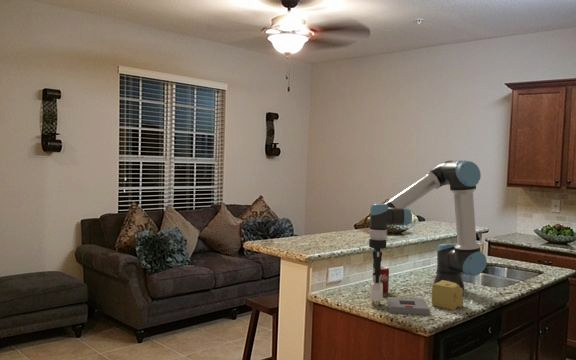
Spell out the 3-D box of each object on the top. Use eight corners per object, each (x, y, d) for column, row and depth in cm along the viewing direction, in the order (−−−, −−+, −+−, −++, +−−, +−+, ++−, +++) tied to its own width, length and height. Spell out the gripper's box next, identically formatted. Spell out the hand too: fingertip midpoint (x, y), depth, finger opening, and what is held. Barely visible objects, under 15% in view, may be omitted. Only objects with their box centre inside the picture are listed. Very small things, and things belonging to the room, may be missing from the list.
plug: (381, 303, 229) (382, 278, 228) (382, 306, 224) (382, 280, 223) (370, 302, 229) (371, 277, 229) (370, 305, 224) (371, 280, 224)
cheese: (463, 305, 227) (464, 283, 226) (453, 310, 219) (453, 287, 218) (441, 301, 234) (441, 279, 233) (430, 305, 226) (431, 283, 225)
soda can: (388, 294, 243) (389, 269, 243) (372, 293, 245) (373, 268, 245) (388, 291, 251) (389, 266, 250) (373, 289, 252) (374, 265, 252)
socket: (423, 304, 228) (423, 297, 227) (428, 314, 212) (428, 307, 212) (387, 302, 230) (387, 295, 230) (389, 312, 214) (389, 305, 214)
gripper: (368, 234, 238) (366, 279, 239) (370, 242, 214) (368, 292, 214) (385, 235, 237) (383, 280, 238) (388, 243, 213) (386, 294, 213)
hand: (376, 286), depth 226 cm, fingers open, 13 cm apart
